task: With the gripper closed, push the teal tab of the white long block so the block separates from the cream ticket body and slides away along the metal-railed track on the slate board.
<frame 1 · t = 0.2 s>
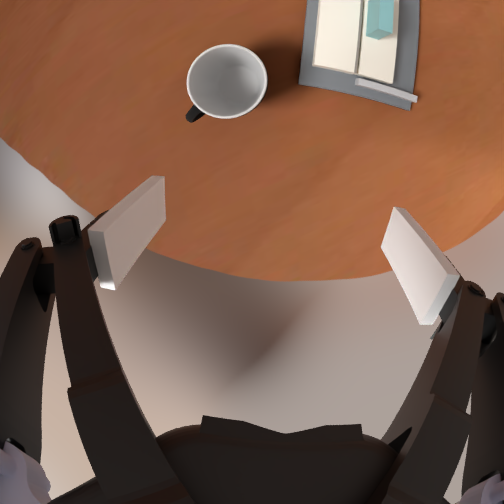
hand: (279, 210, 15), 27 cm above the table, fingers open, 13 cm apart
white long block: (385, 20, 23), point 5 cm above the table, slide at 0.0 cm
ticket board: (363, 24, 28), on the table
mug: (229, 90, 36), on the table
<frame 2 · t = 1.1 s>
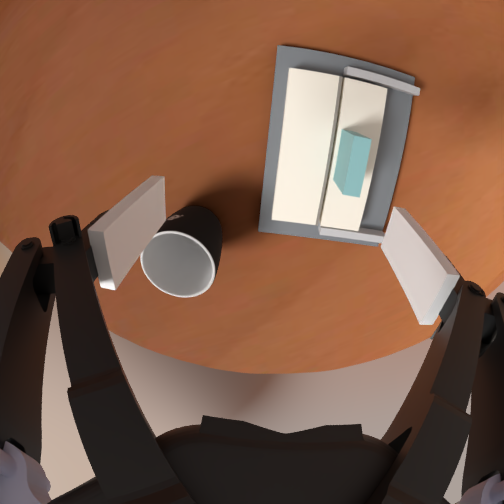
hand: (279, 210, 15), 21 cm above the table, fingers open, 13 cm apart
white long block: (358, 161, 28), point 5 cm above the table, slide at 0.0 cm
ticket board: (336, 149, 32), on the table
mug: (191, 232, 40), on the table
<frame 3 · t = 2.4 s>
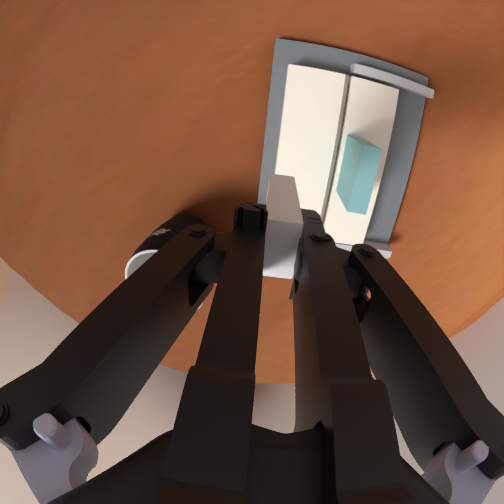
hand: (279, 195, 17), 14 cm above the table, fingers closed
white long block: (365, 171, 25), point 5 cm above the table, slide at 0.0 cm
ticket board: (339, 156, 29), on the table
mug: (181, 243, 37), on the table
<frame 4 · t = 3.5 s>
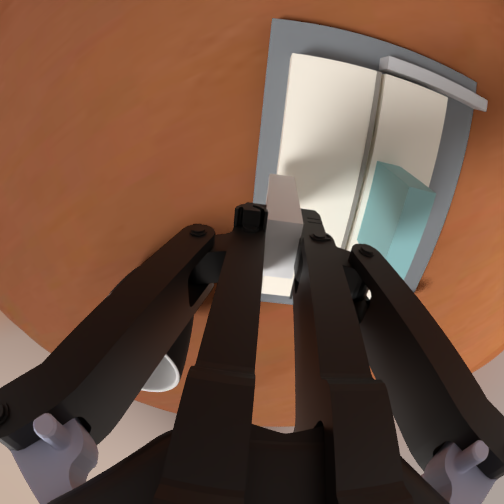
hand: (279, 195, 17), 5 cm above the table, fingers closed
white long block: (401, 216, 17), point 5 cm above the table, slide at 0.0 cm
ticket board: (361, 186, 21), on the table
mug: (156, 291, 29), on the table
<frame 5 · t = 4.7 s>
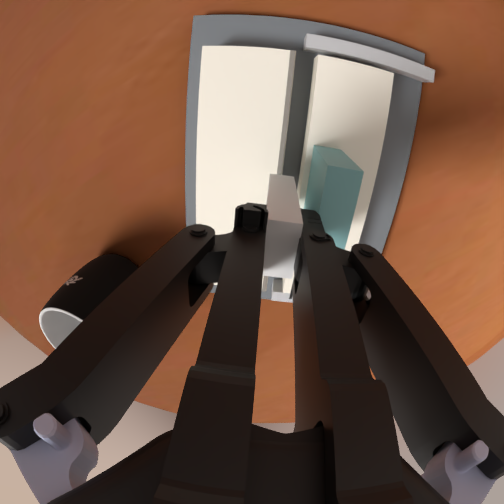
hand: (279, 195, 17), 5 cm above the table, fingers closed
white long block: (341, 201, 17), point 5 cm above the table, slide at 1.1 cm, touching gripper
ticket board: (296, 172, 21), on the table
mug: (115, 282, 29), on the table
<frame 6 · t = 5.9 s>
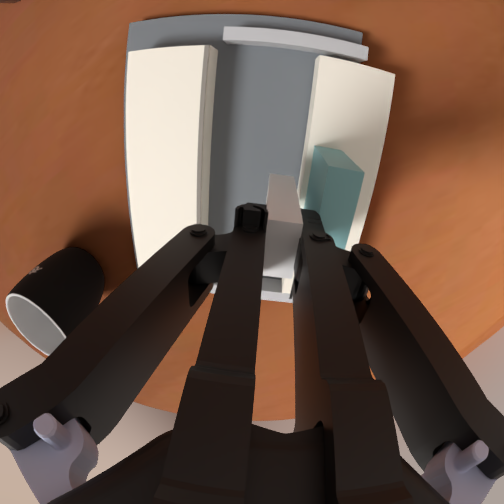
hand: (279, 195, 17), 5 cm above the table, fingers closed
white long block: (342, 202, 17), point 5 cm above the table, slide at 6.3 cm, touching gripper
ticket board: (229, 165, 21), on the table
mug: (79, 274, 29), on the table
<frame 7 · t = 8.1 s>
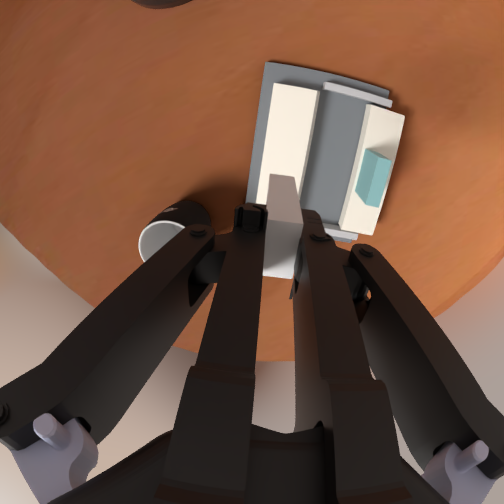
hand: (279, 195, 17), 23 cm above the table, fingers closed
white long block: (377, 176, 33), point 5 cm above the table, slide at 6.5 cm
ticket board: (314, 155, 37), on the table
mug: (183, 224, 45), on the table
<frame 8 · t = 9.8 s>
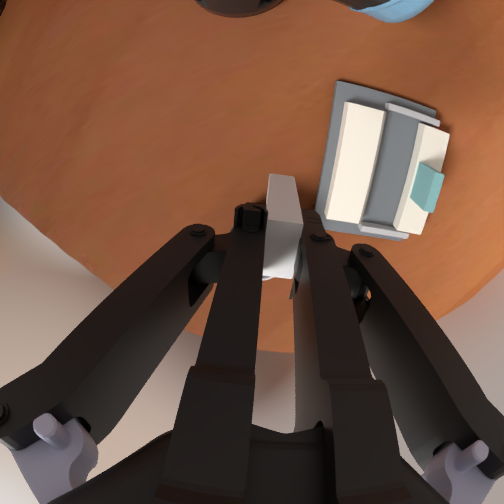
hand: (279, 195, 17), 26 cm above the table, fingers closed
white long block: (429, 186, 36), point 5 cm above the table, slide at 6.5 cm
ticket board: (374, 165, 40), on the table
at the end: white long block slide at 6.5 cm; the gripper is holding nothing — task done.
